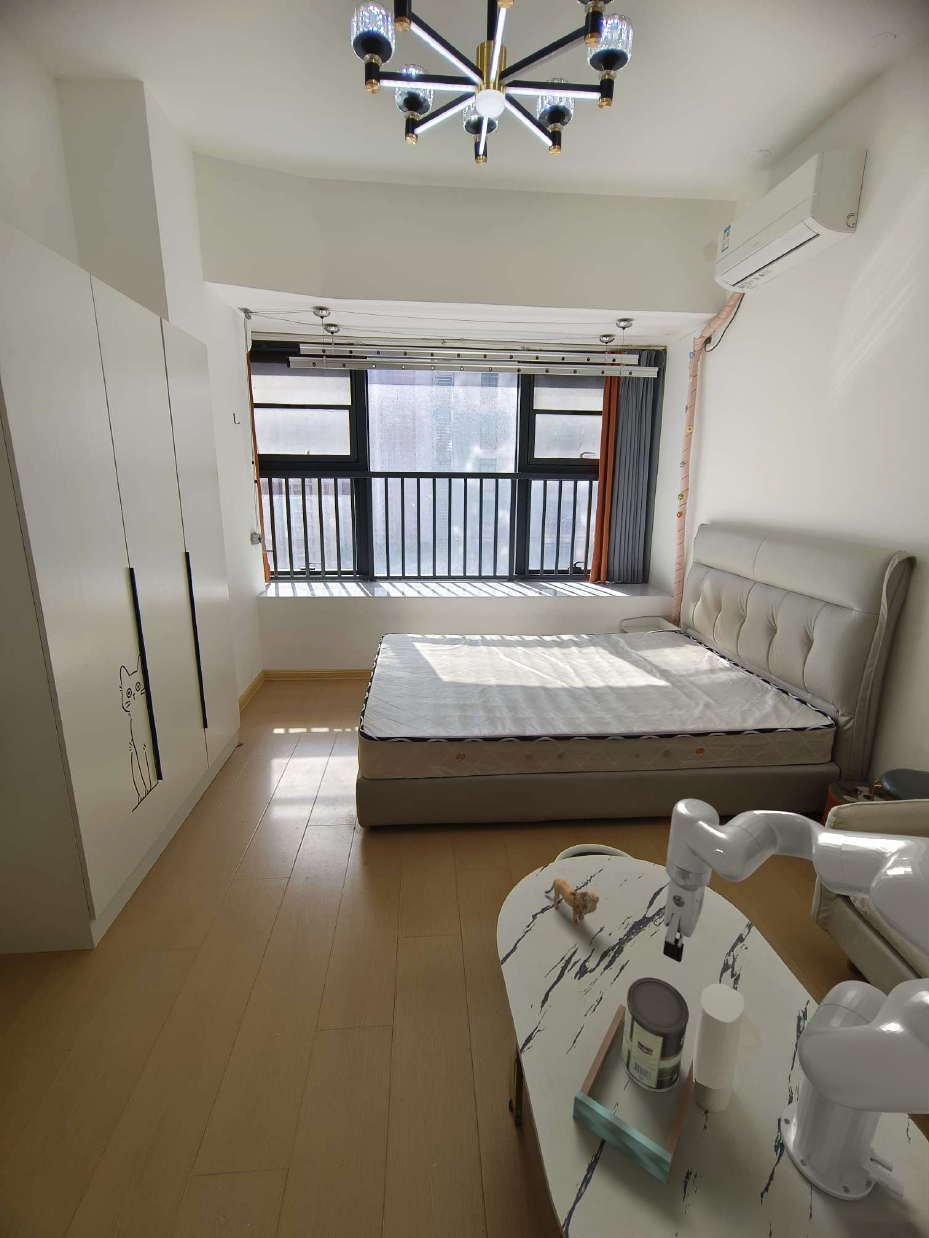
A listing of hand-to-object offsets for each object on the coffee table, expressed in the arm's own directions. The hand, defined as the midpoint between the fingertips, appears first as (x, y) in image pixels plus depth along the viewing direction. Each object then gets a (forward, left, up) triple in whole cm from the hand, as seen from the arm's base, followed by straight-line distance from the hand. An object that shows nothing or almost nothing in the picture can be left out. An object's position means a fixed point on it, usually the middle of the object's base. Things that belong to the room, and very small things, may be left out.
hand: (677, 944), depth 103 cm
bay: (0, +16, -18) cm, 24 cm away
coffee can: (0, +11, -18) cm, 21 cm away
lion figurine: (+27, -12, -18) cm, 34 cm away
